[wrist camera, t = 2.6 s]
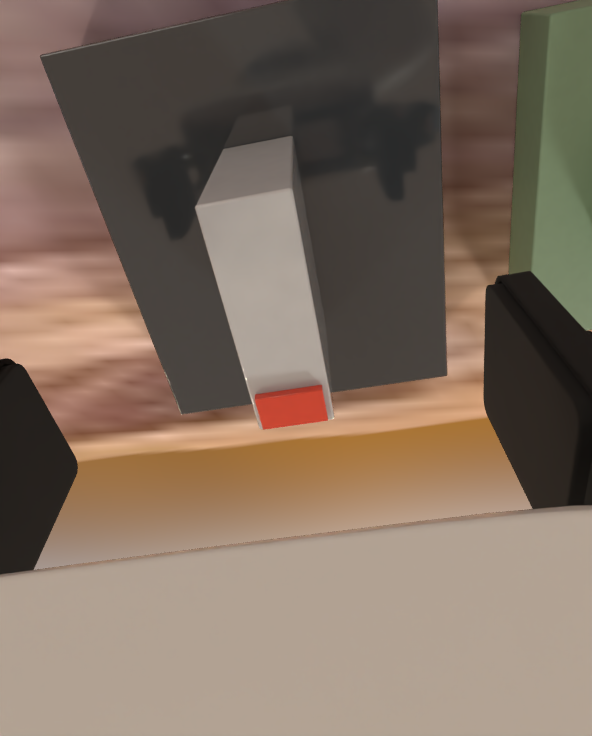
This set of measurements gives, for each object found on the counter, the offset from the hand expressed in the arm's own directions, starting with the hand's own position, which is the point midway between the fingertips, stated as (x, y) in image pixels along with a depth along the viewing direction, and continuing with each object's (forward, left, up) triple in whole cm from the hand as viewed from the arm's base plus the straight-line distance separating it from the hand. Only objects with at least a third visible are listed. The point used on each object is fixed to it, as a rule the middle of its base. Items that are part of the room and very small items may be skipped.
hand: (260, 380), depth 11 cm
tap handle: (0, 0, -7) cm, 7 cm away
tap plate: (0, 0, -10) cm, 10 cm away
